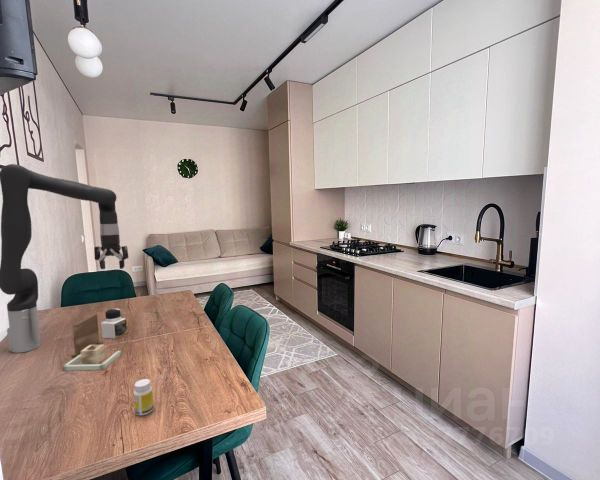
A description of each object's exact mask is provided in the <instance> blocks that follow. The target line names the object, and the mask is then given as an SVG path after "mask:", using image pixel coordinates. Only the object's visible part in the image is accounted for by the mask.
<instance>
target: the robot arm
mask: <svg viewBox="0 0 600 480" xmlns="http://www.w3.org/2000/svg"><path fill="white" fill-rule="evenodd" d="M0 187H1V194H2V205H1V215H0V239H1V240H0V241H1V242H0V243H1V244H0V246H1V248H0V249H1V250H0V253H1V254H0V291H1V292H3V293H4V294H6V295H8V296H9V295H10V296H12V295H14V296H13V298H12V299H11V300H10V301H9V302H7V304H6V308H7V319H8V327H7V329H6V332H7V341H8V352H12V353H14V354H19V353H26V352H30V351H33V350H36V349H38V348H39V347H40V346H41V345H42V343H41V335H40V326H39V325H40V324H39V315H38V305H37V303H38V299H39V284H38V283H39V281H38V277H37V273H35V271H34V270H32V269H30V268H25V267H24V268H22V260H23V256H24V255H25V253H26V250H27V248H28V247H29V245H30V243H31V240H32V234H33V233H32V231H33V230H32V219H31V218H32V217H31V213H30V208H29V204H28V203H29V202H28V201H29V200H28V198H29V197H28V195H29V189H30V190H37V191H44V192H45V191H46V192H49V193H53V194H55V195H56V194H57V195H59V196H63V197H67V198H71V199H76V200H81V201H86V202H87V201H89V202H93V203H96V204H97V206H98V210H99V211H98V212H99V236H100V244H101V246H99V245H98V246H95V247H94V249H93V251H94V260H95V261H99V268H100V269H101V270H104V269H106V260H105V259H106V258H107V257H109V256H111V257H114V256H115V257H116V258H117V260H118V264H119V269H120V270H122V269H124V268H125V260H128V259H129V252H128V251H129V250H128V246H127V245H124V246H121V245H120V242H121V239H120V228H119V223H118V214H117V211H116V210H117V209H116V201H117V194H116V193H115V192H114V191H113V190H111V189H108V188H104V187H99V186H98V187H97V186H92V185H89V184H85V183H82V182H77V181H74V180H73V181H72V180H68V179H62V178H56V177H52V176H48V175H44V174H41V173H38V172H36V171H33V170H30V169H28V168H26V167H24V166H22V165H19V164H16V163H15V164H14V163H12V164H7V165H4V166H3V167H2V168H1V169H0ZM101 251H102V253H101ZM121 252H122V253H121Z"/></svg>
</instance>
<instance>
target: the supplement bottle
mask: <svg viewBox="0 0 600 480" xmlns="http://www.w3.org/2000/svg"><path fill="white" fill-rule="evenodd" d="M153 394H154V393H153V387H152V386H151V380H150V379H147V378H145V379H143V378H142V379H139V380H137V381H136V382H135V383H134V391H133V401H134V404H133V405H134V414H135V415H137V416H146V415H148V414H150V413H151V412H152V411H153V410H154V395H153Z"/></svg>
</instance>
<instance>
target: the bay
mask: <svg viewBox="0 0 600 480" xmlns="http://www.w3.org/2000/svg"><path fill="white" fill-rule="evenodd" d="M121 355H122V350H117V351H116V352H114V353H113V354H112V355H111V356H109V357H108V358H107V359H106V360H105V361H103V362H102V363H99V364H87V365H82V364H77V363H78V362H80V361H81V354H80V355H78V356H77V357H74V358H73V359H71V360H70V361H68V362H67V363H65V364H64V365H62V366H61V369H62V372H63V371H98V370H99V371H100V370H101V371H102V370H105V369H106V368H107V367H108V366H110V365H111V364H112V363H113V362H114V361H115V360H116V359H117V358H119V357H120V356H121Z"/></svg>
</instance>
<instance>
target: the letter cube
mask: <svg viewBox="0 0 600 480" xmlns="http://www.w3.org/2000/svg"><path fill="white" fill-rule="evenodd" d="M105 349H106V348H105V344H102V345H89V346H88V347H86V348H85V349H83V350H82V351H81V360H80V361H81V365H87V364H101V362H102V361H103V360H105V359H106V350H105Z"/></svg>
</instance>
